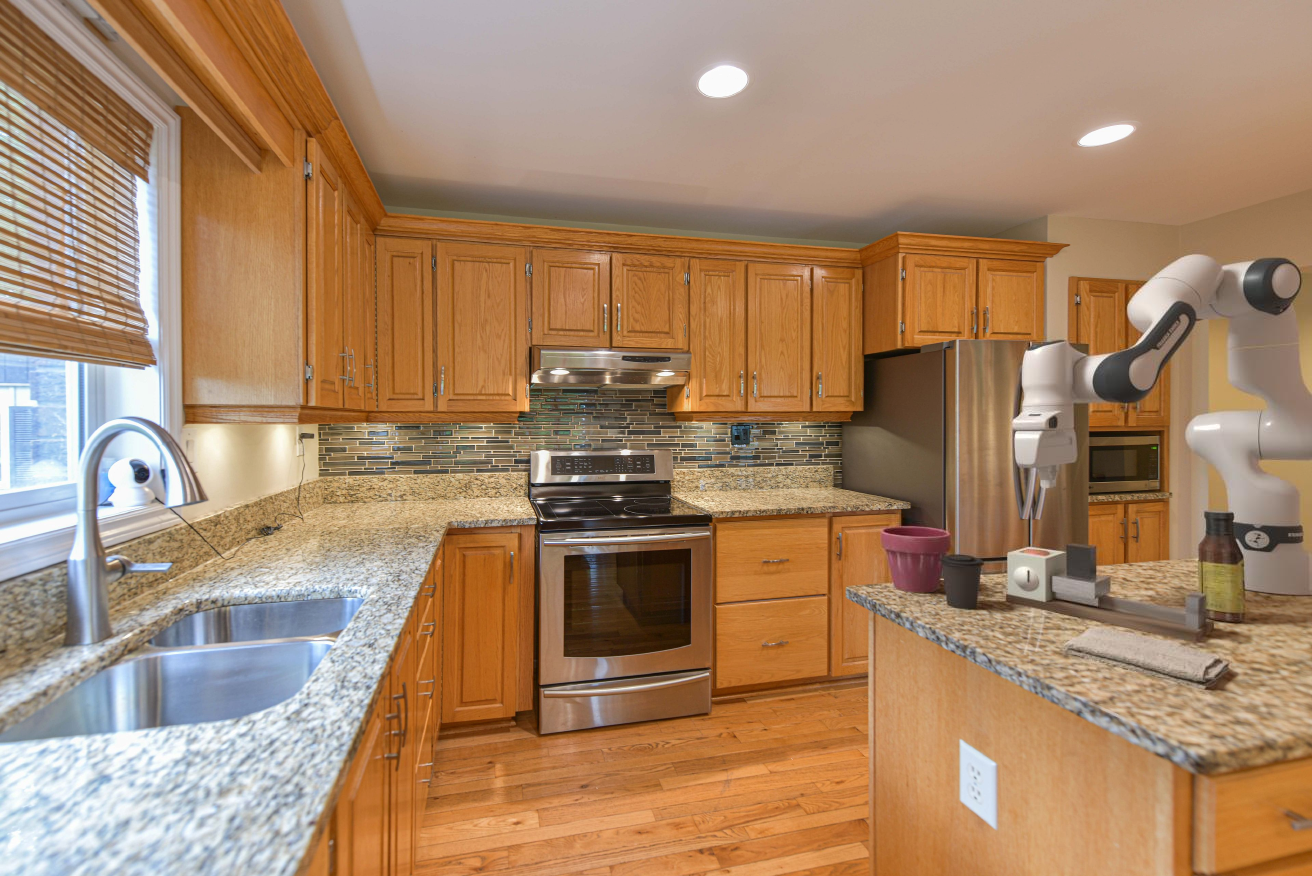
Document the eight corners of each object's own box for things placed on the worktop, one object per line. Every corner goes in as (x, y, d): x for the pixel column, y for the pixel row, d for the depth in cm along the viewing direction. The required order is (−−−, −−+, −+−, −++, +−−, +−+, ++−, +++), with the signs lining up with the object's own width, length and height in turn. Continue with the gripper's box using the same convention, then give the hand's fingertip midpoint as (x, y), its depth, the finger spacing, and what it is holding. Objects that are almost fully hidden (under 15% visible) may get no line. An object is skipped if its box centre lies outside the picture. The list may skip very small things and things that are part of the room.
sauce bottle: (1254, 624, 107) (1255, 514, 106) (1214, 622, 108) (1214, 513, 108) (1227, 613, 113) (1228, 509, 113) (1189, 612, 114) (1189, 508, 114)
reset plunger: (1030, 574, 125) (1029, 548, 125) (1053, 579, 122) (1053, 551, 122) (1020, 578, 123) (1020, 551, 123) (1044, 582, 119) (1044, 554, 119)
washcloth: (1212, 696, 80) (1212, 673, 80) (1059, 656, 94) (1059, 636, 94) (1232, 674, 87) (1232, 652, 87) (1087, 639, 101) (1087, 621, 101)
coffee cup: (983, 613, 114) (983, 561, 114) (937, 607, 119) (936, 557, 119) (985, 603, 121) (985, 554, 121) (941, 597, 126) (941, 550, 125)
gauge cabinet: (1029, 593, 128) (1029, 546, 128) (1066, 600, 122) (1066, 552, 122) (1006, 601, 122) (1006, 553, 122) (1044, 609, 116) (1044, 558, 116)
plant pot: (880, 592, 130) (879, 534, 130) (881, 577, 143) (881, 524, 143) (953, 599, 124) (953, 538, 124) (948, 583, 137) (947, 527, 137)
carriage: (1069, 592, 121) (1069, 540, 121) (1110, 600, 115) (1110, 545, 115) (1052, 599, 117) (1052, 545, 116) (1094, 607, 111) (1094, 551, 111)
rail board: (1029, 592, 129) (1029, 562, 128) (1213, 628, 104) (1214, 592, 104) (1005, 601, 122) (1005, 570, 122) (1196, 642, 98) (1196, 603, 98)
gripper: (1052, 419, 131) (1053, 482, 131) (1007, 421, 119) (1008, 490, 119) (1085, 418, 125) (1086, 484, 126) (1042, 420, 114) (1043, 493, 114)
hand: (1048, 487), depth 122 cm, fingers closed
